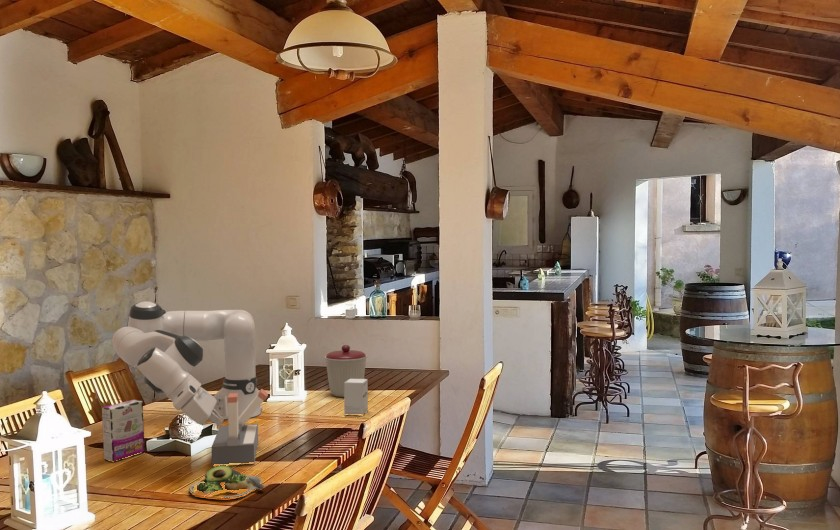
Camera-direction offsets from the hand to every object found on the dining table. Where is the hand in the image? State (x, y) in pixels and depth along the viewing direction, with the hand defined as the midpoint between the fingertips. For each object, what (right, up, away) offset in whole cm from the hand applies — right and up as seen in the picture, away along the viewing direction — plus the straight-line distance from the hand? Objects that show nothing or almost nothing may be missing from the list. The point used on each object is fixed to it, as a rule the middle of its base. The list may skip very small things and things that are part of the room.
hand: (221, 423), depth 204 cm
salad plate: (+7, -13, -20) cm, 25 cm away
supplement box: (+35, -9, +55) cm, 66 cm away
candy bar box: (-32, -12, +7) cm, 35 cm away
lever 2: (+1, -4, +16) cm, 16 cm away
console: (+2, -11, +9) cm, 14 cm away
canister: (+28, -8, +86) cm, 91 cm away
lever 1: (+3, -5, +1) cm, 6 cm away
